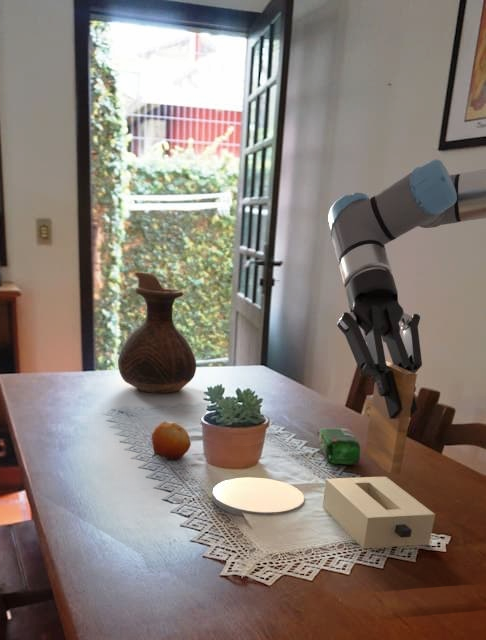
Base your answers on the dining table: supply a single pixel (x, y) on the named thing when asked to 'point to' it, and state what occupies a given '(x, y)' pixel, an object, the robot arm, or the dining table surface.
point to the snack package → (339, 446)
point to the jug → (157, 344)
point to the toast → (390, 423)
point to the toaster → (377, 512)
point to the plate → (256, 496)
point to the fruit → (170, 441)
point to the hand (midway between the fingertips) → (403, 413)
